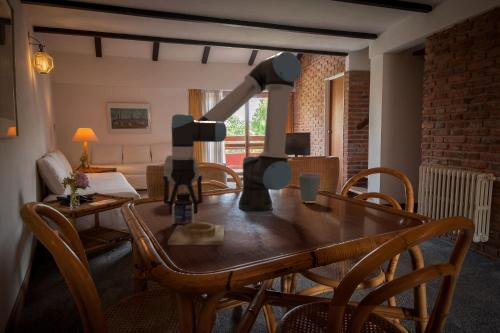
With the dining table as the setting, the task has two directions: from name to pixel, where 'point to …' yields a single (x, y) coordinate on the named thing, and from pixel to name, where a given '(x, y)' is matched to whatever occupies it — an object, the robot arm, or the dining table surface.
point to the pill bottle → (183, 209)
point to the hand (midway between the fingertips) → (183, 222)
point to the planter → (168, 172)
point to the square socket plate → (197, 234)
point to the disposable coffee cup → (309, 186)
